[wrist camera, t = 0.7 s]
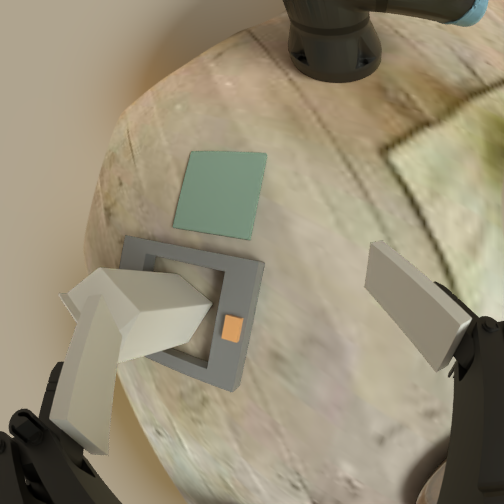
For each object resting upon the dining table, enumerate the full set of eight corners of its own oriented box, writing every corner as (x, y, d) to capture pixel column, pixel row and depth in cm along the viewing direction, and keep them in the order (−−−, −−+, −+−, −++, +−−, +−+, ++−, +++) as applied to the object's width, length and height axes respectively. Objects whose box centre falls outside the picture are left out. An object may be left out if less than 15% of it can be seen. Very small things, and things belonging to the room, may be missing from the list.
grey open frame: (135, 237, 43) (106, 230, 37) (264, 262, 36) (246, 258, 29) (120, 337, 42) (91, 342, 36) (239, 386, 35) (218, 404, 29)
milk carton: (177, 273, 40) (69, 263, 22) (214, 303, 37) (108, 314, 19) (156, 311, 40) (49, 320, 22) (189, 342, 38) (84, 372, 20)
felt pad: (193, 152, 41) (191, 151, 41) (267, 154, 37) (266, 153, 37) (174, 228, 41) (172, 227, 40) (250, 240, 37) (248, 239, 36)
